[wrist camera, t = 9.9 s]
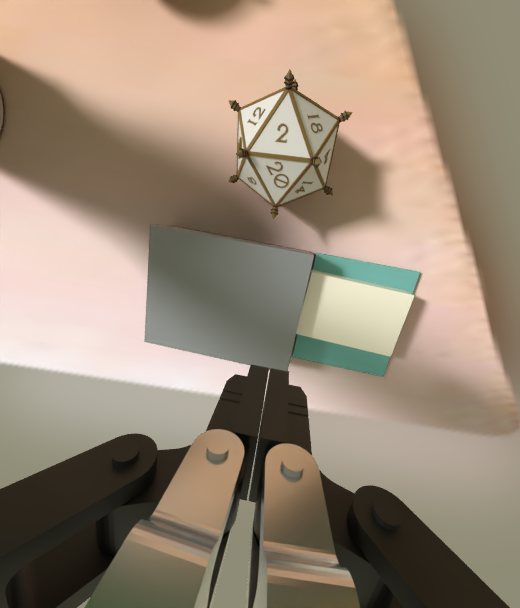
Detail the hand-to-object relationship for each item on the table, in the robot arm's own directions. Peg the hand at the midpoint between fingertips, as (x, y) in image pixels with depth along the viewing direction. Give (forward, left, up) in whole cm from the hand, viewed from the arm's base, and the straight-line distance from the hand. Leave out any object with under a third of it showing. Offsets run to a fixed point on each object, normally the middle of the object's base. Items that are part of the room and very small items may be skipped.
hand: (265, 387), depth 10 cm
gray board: (+1, -5, -17) cm, 17 cm away
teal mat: (+1, +7, -17) cm, 18 cm away
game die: (-12, -2, -17) cm, 21 cm away
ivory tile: (0, +7, -16) cm, 17 cm away
